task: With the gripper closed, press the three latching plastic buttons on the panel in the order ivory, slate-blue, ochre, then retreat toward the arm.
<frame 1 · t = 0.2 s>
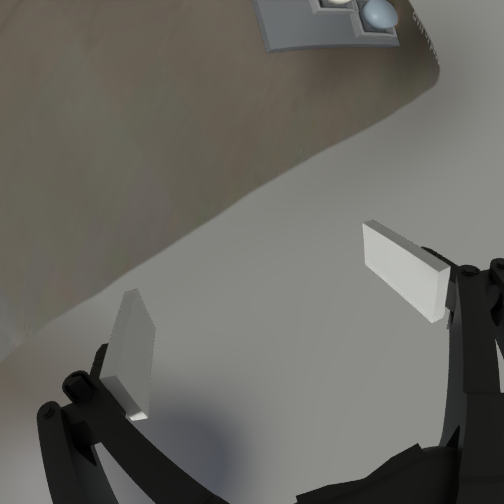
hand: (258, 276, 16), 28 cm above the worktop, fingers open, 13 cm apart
panel: (322, 1, 33), on the worktop
slate button: (379, 14, 30), point 6 cm above the worktop, slide at 0.0 cm
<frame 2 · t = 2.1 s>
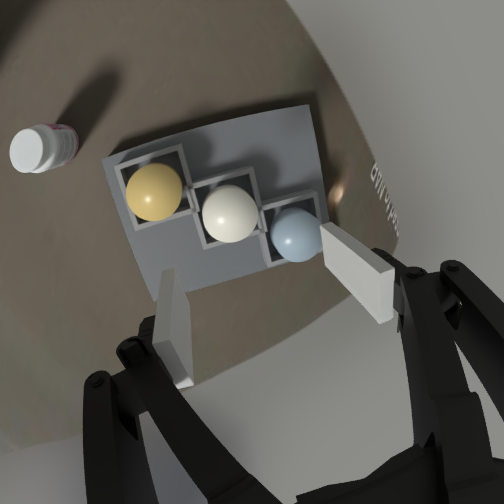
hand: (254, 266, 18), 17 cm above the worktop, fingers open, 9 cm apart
panel: (223, 200, 33), on the worktop
pill bottle: (62, 144, 27), on the worktop
ivory button: (229, 213, 28), point 6 cm above the worktop, slide at 0.0 cm
ochre button: (154, 191, 26), point 6 cm above the worktop, slide at 0.0 cm
slate button: (296, 234, 30), point 6 cm above the worktop, slide at 0.0 cm
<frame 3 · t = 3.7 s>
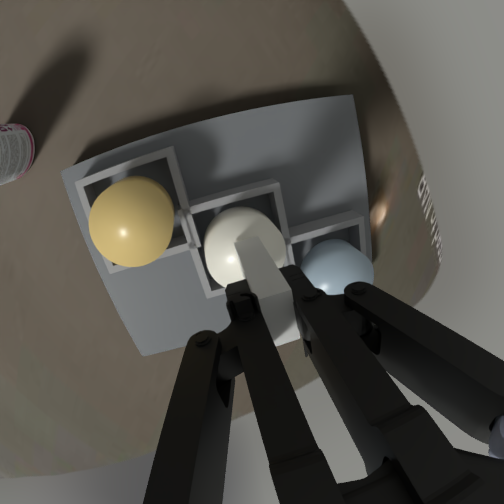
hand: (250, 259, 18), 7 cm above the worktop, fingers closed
panel: (232, 224, 24), on the worktop
pill bottle: (15, 150, 18), on the worktop
ivory button: (243, 248, 20), point 5 cm above the worktop, slide at 0.5 cm, touching gripper
ochre button: (132, 220, 17), point 6 cm above the worktop, slide at 0.0 cm
slate button: (336, 276, 21), point 6 cm above the worktop, slide at 0.0 cm
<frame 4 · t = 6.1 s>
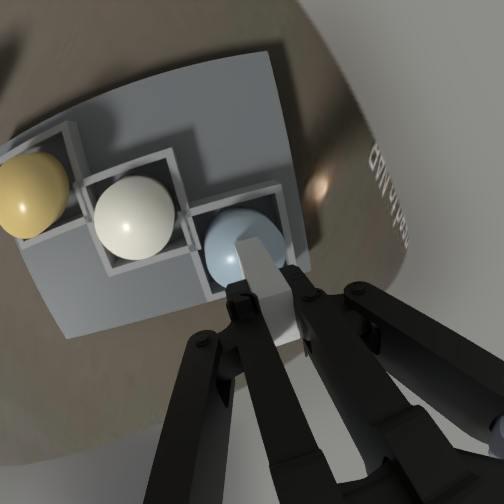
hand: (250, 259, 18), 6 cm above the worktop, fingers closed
panel: (144, 201, 22), on the worktop
ivory button: (135, 215, 18), point 4 cm above the worktop, slide at 1.5 cm
ochre button: (29, 193, 14), point 6 cm above the worktop, slide at 0.0 cm
slate button: (243, 248, 20), point 5 cm above the worktop, slide at 0.9 cm, touching gripper
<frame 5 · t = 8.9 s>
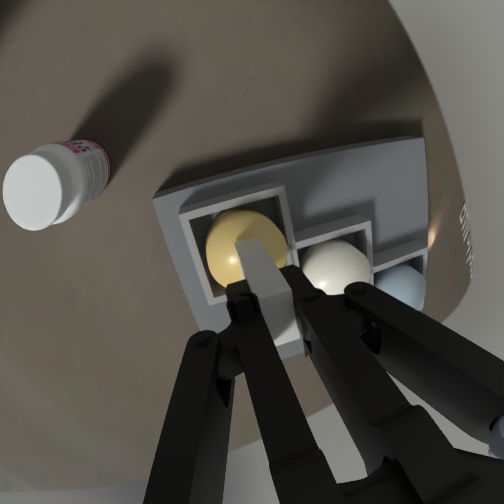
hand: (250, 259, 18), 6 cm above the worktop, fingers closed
panel: (314, 252, 26), on the worktop
pill bottle: (83, 170, 20), on the worktop
ivory button: (334, 273, 22), point 4 cm above the worktop, slide at 1.5 cm
ochre button: (244, 249, 20), point 4 cm above the worktop, slide at 1.3 cm, touching gripper
slate button: (397, 291, 24), point 4 cm above the worktop, slide at 1.5 cm
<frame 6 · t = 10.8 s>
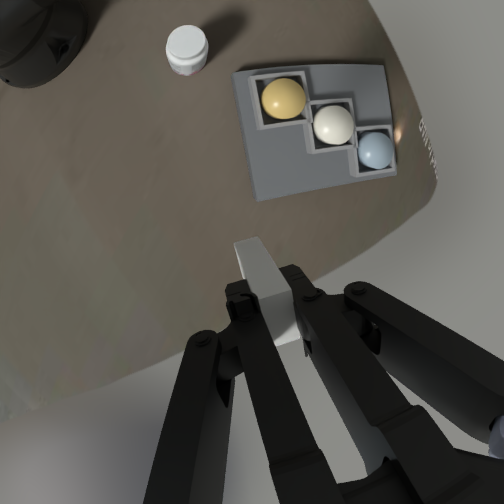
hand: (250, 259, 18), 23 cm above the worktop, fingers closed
panel: (319, 125, 39), on the worktop
pill bottle: (187, 59, 32), on the worktop
ivory button: (332, 124, 35), point 4 cm above the worktop, slide at 1.5 cm
ochre button: (282, 99, 33), point 4 cm above the worktop, slide at 1.5 cm
slate button: (374, 150, 37), point 4 cm above the worktop, slide at 1.5 cm
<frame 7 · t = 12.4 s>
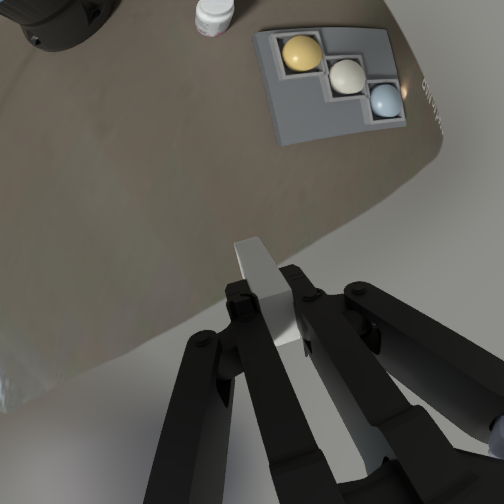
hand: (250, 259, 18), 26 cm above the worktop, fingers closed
panel: (333, 80, 39), on the worktop
pill bottle: (211, 23, 33), on the worktop
ivory button: (346, 77, 36), point 4 cm above the worktop, slide at 1.5 cm
ochre button: (301, 53, 33), point 4 cm above the worktop, slide at 1.5 cm
slate button: (384, 100, 38), point 4 cm above the worktop, slide at 1.5 cm
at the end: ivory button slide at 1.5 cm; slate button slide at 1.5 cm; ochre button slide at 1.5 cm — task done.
